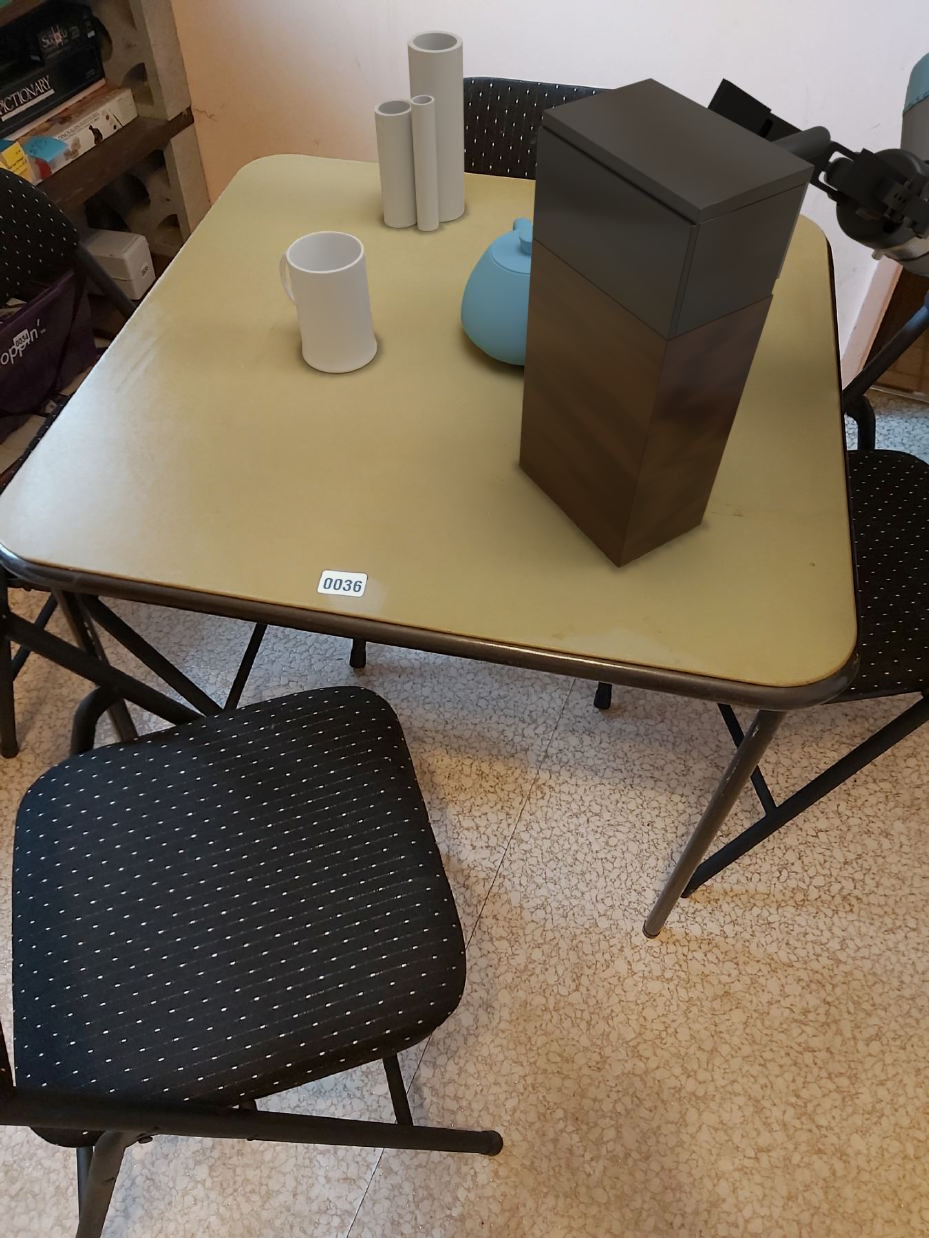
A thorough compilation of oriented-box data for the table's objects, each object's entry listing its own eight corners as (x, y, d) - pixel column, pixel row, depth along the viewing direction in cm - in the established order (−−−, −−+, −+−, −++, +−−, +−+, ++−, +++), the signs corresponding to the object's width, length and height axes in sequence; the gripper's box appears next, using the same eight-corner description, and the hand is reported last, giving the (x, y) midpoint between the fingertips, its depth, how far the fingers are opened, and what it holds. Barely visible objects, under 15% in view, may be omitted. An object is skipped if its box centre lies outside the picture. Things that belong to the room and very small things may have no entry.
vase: (445, 192, 117) (440, 26, 101) (476, 213, 114) (476, 45, 98) (377, 218, 113) (361, 49, 97) (406, 240, 110) (395, 69, 94)
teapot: (453, 293, 102) (451, 189, 92) (614, 283, 104) (629, 179, 93) (470, 397, 91) (469, 291, 81) (651, 384, 92) (673, 277, 82)
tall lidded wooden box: (597, 429, 87) (650, 77, 61) (701, 524, 79) (815, 165, 53) (518, 465, 84) (539, 111, 58) (618, 568, 76) (695, 210, 50)
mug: (268, 341, 97) (246, 242, 87) (323, 308, 101) (307, 210, 91) (337, 383, 92) (321, 284, 83) (392, 348, 96) (383, 249, 86)
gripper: (982, 312, 71) (882, 261, 56) (768, 190, 83) (642, 122, 69) (1052, 225, 67) (964, 145, 52) (816, 110, 79) (693, 21, 65)
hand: (781, 132), depth 61 cm, fingers open, 13 cm apart
